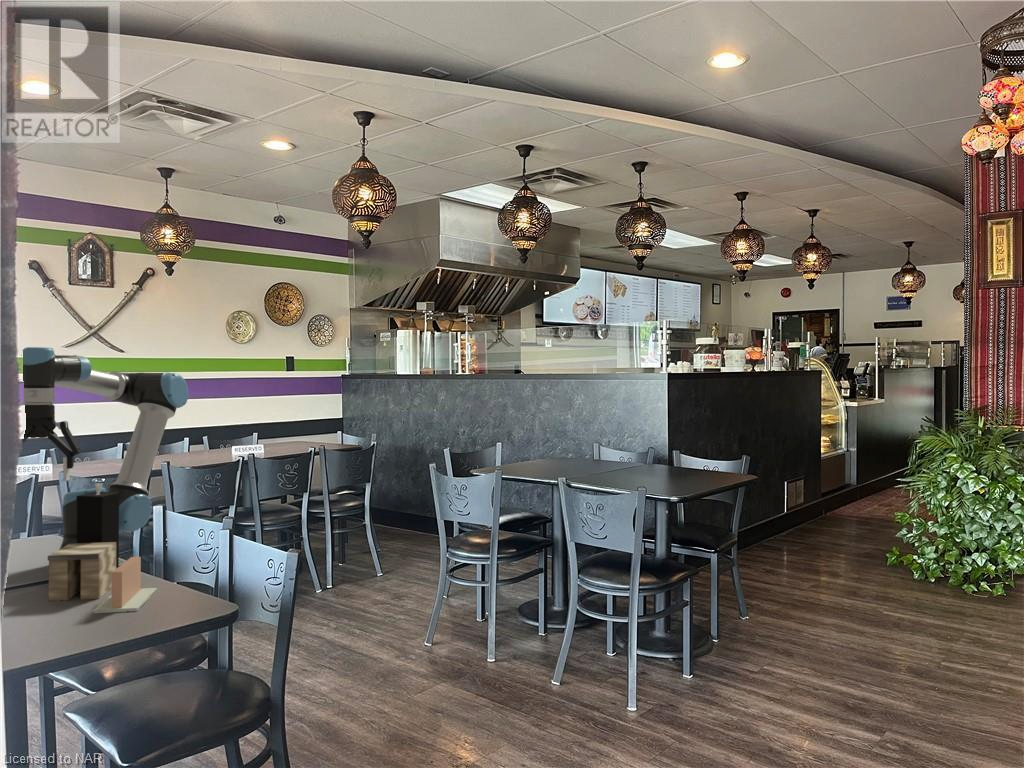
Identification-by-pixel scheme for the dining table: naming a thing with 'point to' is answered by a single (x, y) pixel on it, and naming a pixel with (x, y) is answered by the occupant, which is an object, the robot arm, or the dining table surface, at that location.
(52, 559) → the brown boxy piece
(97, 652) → the dining table surface
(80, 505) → the black tall rectangular block
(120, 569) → the tan rectangular slab
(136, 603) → the mat
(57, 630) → the dining table surface
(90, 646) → the dining table surface
